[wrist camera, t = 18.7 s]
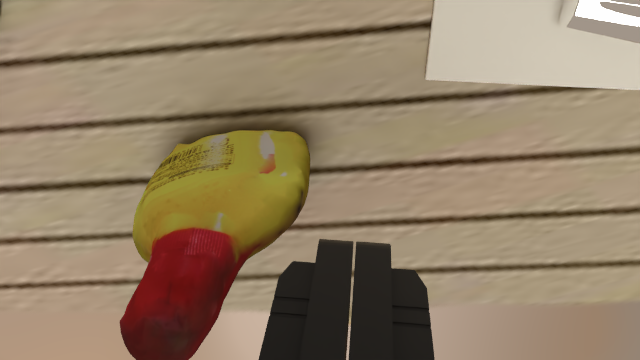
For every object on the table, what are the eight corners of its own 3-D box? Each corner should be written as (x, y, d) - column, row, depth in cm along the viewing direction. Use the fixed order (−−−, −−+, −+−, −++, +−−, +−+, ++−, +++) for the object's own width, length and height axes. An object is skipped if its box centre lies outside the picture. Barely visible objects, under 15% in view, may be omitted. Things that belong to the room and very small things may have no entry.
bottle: (308, 102, 39) (250, 291, 22) (329, 177, 42) (293, 395, 25) (159, 132, 41) (1, 324, 24) (189, 201, 44) (68, 414, 27)
